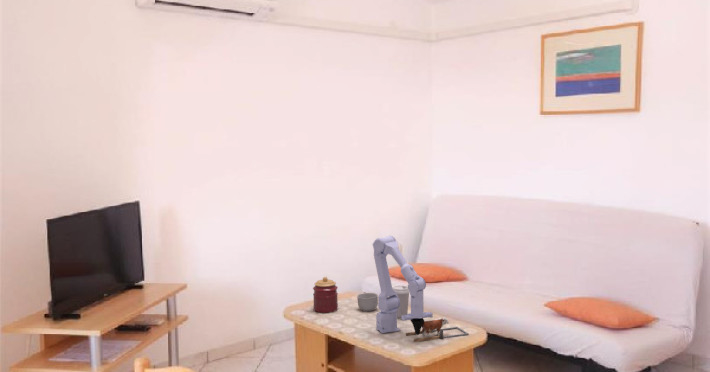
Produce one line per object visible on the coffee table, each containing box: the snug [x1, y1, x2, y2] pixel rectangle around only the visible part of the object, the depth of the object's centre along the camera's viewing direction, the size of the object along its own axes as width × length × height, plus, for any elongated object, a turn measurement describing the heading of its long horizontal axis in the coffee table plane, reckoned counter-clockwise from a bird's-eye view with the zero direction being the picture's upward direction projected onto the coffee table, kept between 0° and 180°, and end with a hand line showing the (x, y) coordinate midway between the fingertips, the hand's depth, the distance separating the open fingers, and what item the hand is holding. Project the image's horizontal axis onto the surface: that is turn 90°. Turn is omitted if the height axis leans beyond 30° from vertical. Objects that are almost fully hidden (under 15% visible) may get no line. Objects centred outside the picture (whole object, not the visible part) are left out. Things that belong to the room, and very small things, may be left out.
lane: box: [432, 326, 470, 339], centre depth 284 cm, size 13×11×1 cm
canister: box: [312, 276, 339, 314], centre depth 325 cm, size 13×13×18 cm
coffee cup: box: [392, 285, 410, 319], centre depth 310 cm, size 10×10×15 cm
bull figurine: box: [421, 316, 450, 337], centre depth 281 cm, size 4×13×8 cm, turn 106°
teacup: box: [356, 292, 379, 312], centre depth 325 cm, size 14×11×8 cm
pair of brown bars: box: [405, 328, 444, 343], centre depth 280 cm, size 14×12×4 cm
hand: (417, 334), depth 279 cm, fingers closed
